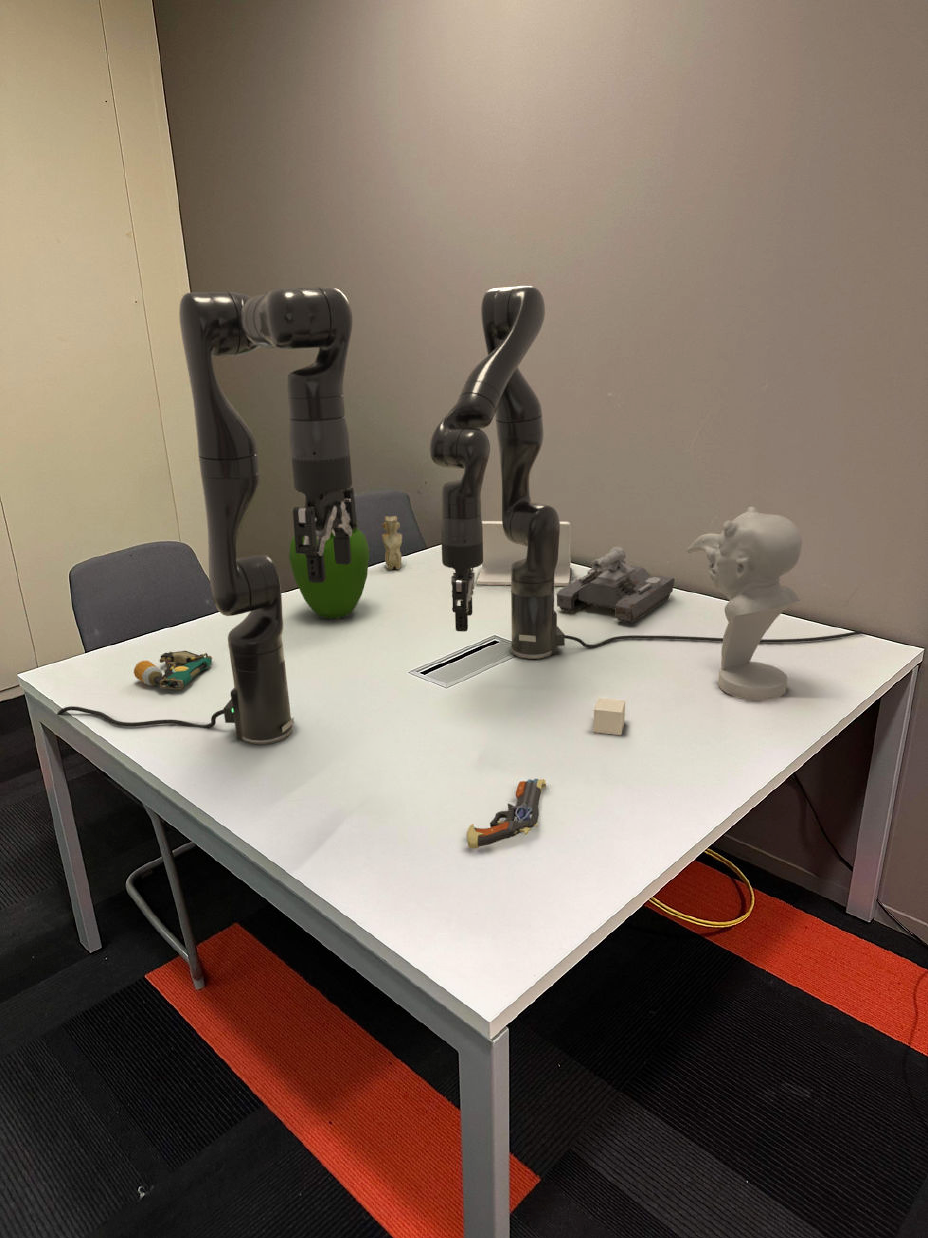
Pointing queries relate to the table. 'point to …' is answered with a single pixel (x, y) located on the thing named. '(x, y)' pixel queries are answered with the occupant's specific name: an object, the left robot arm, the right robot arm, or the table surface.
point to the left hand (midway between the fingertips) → (331, 572)
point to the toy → (616, 588)
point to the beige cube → (609, 716)
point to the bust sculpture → (751, 595)
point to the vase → (333, 577)
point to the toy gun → (511, 816)
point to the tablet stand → (517, 555)
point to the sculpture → (392, 542)
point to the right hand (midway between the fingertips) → (464, 622)
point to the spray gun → (172, 669)
